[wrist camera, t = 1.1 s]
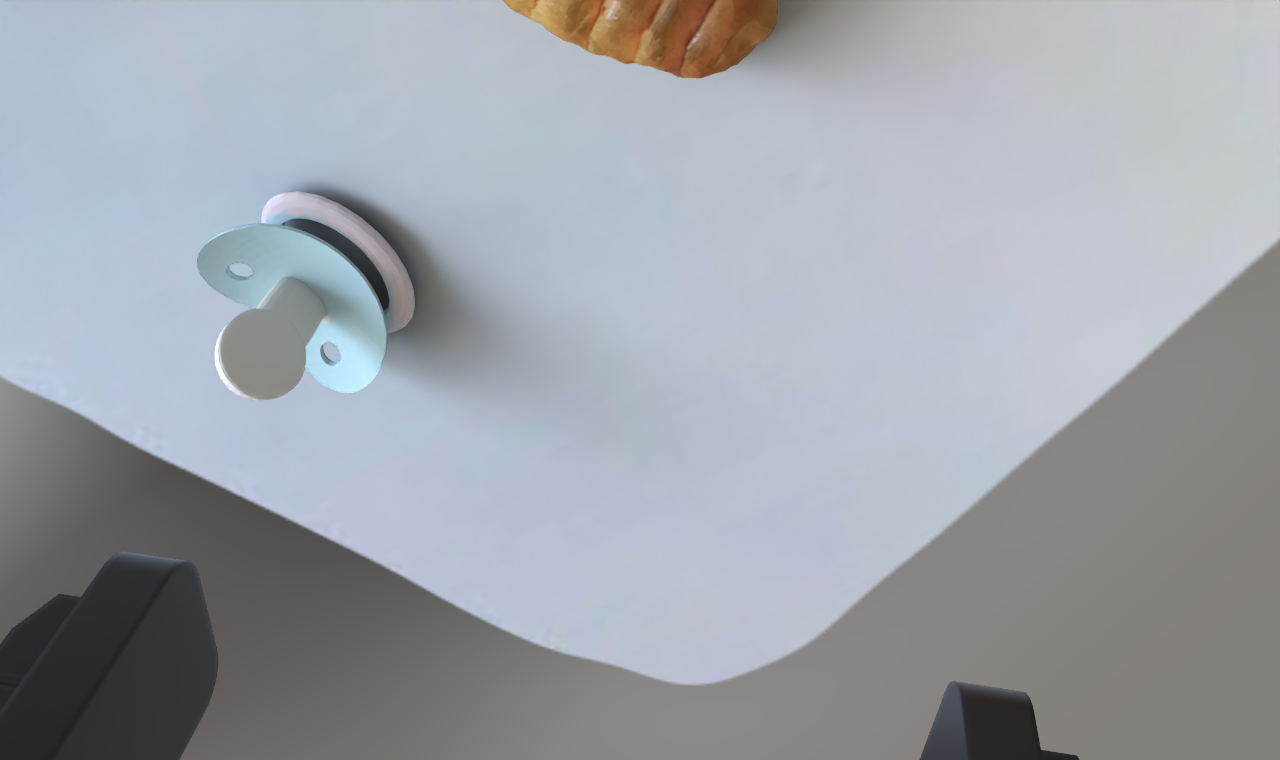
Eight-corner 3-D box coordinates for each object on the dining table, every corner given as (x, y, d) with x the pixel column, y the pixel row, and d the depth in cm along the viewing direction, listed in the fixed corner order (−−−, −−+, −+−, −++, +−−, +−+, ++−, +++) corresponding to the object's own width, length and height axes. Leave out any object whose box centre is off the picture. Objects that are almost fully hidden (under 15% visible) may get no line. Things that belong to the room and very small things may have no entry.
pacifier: (306, 147, 38) (202, 241, 41) (231, 233, 33) (118, 334, 36) (457, 297, 41) (350, 376, 44) (409, 397, 36) (292, 479, 38)
